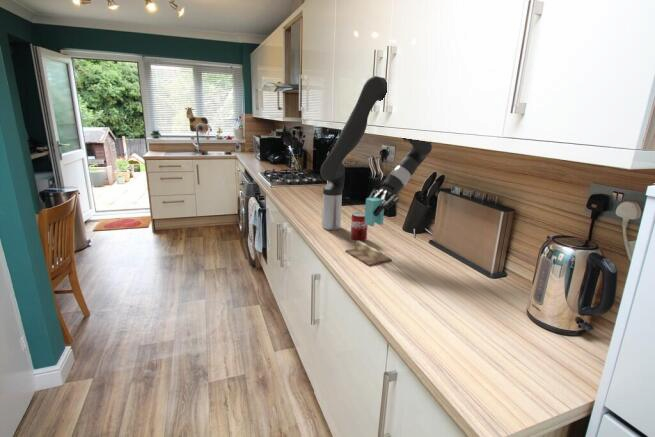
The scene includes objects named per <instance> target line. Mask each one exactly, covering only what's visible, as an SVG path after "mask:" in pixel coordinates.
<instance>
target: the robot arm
mask: <svg viewBox="0 0 655 437" xmlns="http://www.w3.org/2000/svg"><path fill="white" fill-rule="evenodd" d="M385 79H386V78H385V77H381V76H376V75H374V76H373V75H372V76H370V77H369V78H367V80H366V81H365V83H364V85H363V87H362V90H361V91H360V93H359V97H358V99H357V102H356V104H355V106H354V107H353V110H352V112H351V113H350V115H349V117H348V119H347V121H346V122H345V124H344V125H343V128H342V129H341V131H340V135H339V136H338V138H337V140H336V141H335V144H334V146H333V148H332V149H331V151H330V152H329V154H328V156H327V157H326V159H325V160H324V161H323V163H322V164H321V166H320V177H321V178H322V180H324V181H327V183H326V185H325V186H323V189H322V208H321V227H322V228H323V229H324V230H329V231H337V230H340V229H341V226H342V225H341V224H342V202H343V200H342V199H343V198H342V197H343V196H342V195H343V190H344V187H345V177H346V175H345V174H346V169H345V165H344V163H343V161H344V160H345V158H346V157H347V156H348V155H349V154H350V153H352V151H353V150H354V149H355V148H356V147H357V146H358V144H359V143H360V141H361V139H362V138H363V136H364V134H365V133H366V129H367V125H368V120H369V116H370V113H371V110H372V109H373V108H374V105H375V104H376V103H377V101H378V102H379V101H381V100H383V98H384V97H385V95H386V93H387V82H386V80H385ZM401 139H402V140H403V141H404V142H408V143H409V144H411V146H412V147H411V148H410V150H409V151H408V152H407V154H406V155H405V156H404V157H403V158H402V159H401V160H400V162H398V164H397V165H396V167H394V168H393V169H392V170H391V172H389V174H388V175H387V176H386V178H385V179H384V180H383V182H382V186H381V187H380V188H379V189H376V188H373V189H372V191H371V193H370V195H369V196H368V198H377V197H378V198H381V200H382V201H381V203H380V205H379V206H378V207H377V208H376V209H375V211H374V212H373V214H374V215H375V216H378V215H379V214H380V212H381V211H382V210H384V211H385V209H386V210H389V209H391V207H393V206H394V205H395V204H396V203H397V202H398V201H399V200H400V199H399V198H398V196H397V195H399V193H400V192H401V191H402V190H403V189H404V187H405V186H406V184H407V183H408V182H409V180H410V179H411V178H412V176H413V175H414V173H415V172H416V170H417V169H418V167H420V166H421V164H422V163H423V162H424V161H425V159H426V158H427V157H428V156H429V154H430V153H431V152H432V149H433V144H432V142H431V141H430V142H425V141H419V140H412V139H406V138H401ZM383 203H384V204H383Z"/></svg>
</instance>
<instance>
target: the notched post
mask: <svg viewBox="0 0 655 437" xmlns="http://www.w3.org/2000/svg"><path fill="white" fill-rule="evenodd" d="M381 201H382V200H381V198H378V197H377V198H369V197H367V198H366V199H365V209H364V213H365V224H367V225H368V226H370V227H374V226H375V224H378V225H381V226H383V225H384V216H385V215H384V214H385V209H384V210H382V211H381V212H380V214H379V215H378V216H375V215H374V214H373V212H374V211H375V209H376V208H377V207H378V206H379V205H380V203H381ZM383 204H384V203H383Z"/></svg>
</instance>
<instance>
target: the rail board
mask: <svg viewBox="0 0 655 437" xmlns="http://www.w3.org/2000/svg"><path fill="white" fill-rule="evenodd" d="M345 253H347V254H348V255H350V256H352V257H353V258H354V259H356V260H358V261H359V262H361V263H363V264H364V265H365V266H368V267H372V266H375V265H376V266H377V265H380V264H384V263H389V262H392V258H391V257H389V256H387V255H386V254H383V253H382V251H380V250H378V249H376V248H375V247H373V246H371V245H369V244H367V243H364V242H361V241H356V244H355V247H354V248H349V249H345Z"/></svg>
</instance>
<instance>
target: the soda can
mask: <svg viewBox="0 0 655 437" xmlns="http://www.w3.org/2000/svg"><path fill="white" fill-rule="evenodd" d="M350 223H351V224H350V225H351V226H350V239H351V241H352V242H356V241H361V242H363V243H364V242H365V241H367V239H368V226H369V225H367V224H365V212H360V211H359V212H357V211H356V212H353V213H352V214H351V222H350Z"/></svg>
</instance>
